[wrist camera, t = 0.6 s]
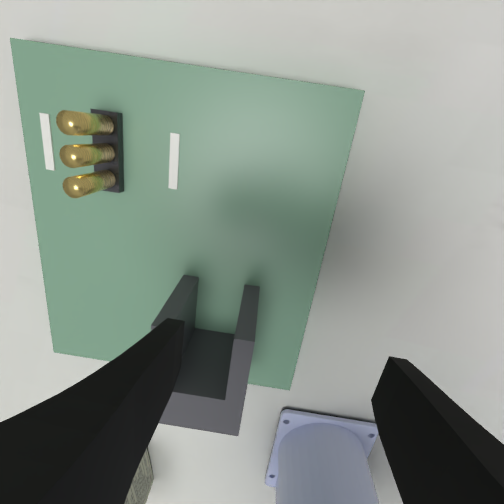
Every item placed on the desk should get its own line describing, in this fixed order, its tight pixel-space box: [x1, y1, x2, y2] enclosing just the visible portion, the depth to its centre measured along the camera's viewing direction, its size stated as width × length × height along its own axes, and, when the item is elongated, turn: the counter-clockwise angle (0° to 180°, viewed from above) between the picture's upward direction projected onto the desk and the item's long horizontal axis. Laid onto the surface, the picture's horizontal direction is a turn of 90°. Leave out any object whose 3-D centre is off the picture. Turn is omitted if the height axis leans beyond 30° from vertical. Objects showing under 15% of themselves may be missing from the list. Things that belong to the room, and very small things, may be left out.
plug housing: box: [151, 275, 260, 436], centre depth 18 cm, size 6×5×6 cm
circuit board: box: [10, 38, 365, 390], centre depth 19 cm, size 20×18×1 cm
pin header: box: [56, 108, 124, 198], centre depth 15 cm, size 4×1×4 cm, turn 172°
